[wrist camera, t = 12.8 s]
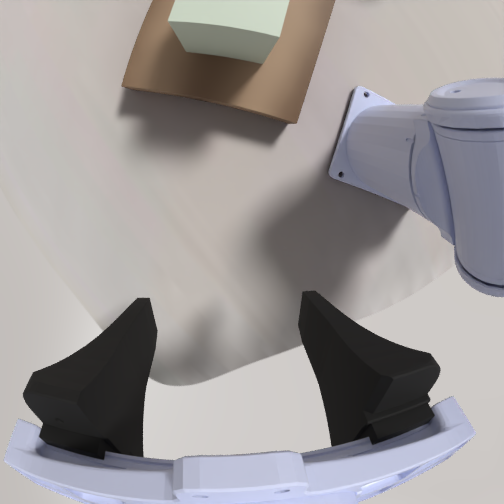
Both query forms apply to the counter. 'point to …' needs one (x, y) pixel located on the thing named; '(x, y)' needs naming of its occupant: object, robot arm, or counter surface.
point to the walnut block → (232, 64)
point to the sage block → (229, 27)
